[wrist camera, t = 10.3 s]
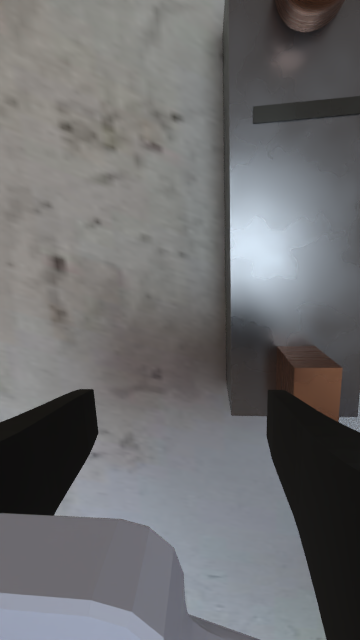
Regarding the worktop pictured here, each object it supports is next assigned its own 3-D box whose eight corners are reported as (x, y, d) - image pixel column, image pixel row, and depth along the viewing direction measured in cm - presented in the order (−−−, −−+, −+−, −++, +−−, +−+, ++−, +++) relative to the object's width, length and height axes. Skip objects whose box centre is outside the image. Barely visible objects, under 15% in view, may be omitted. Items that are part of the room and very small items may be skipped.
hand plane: (348, 17, 16) (475, -201, 8) (325, 383, 20) (393, 454, 13) (222, 33, 17) (235, -155, 9) (226, 383, 21) (237, 451, 14)
